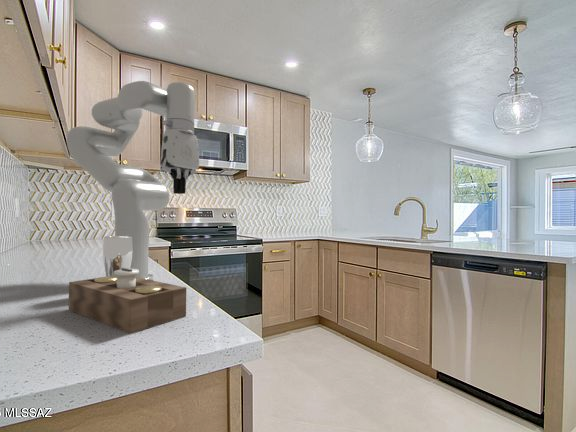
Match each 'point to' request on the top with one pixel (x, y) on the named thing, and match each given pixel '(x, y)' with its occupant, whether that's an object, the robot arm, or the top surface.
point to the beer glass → (117, 253)
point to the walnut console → (127, 303)
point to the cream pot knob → (126, 277)
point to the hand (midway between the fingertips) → (179, 193)
